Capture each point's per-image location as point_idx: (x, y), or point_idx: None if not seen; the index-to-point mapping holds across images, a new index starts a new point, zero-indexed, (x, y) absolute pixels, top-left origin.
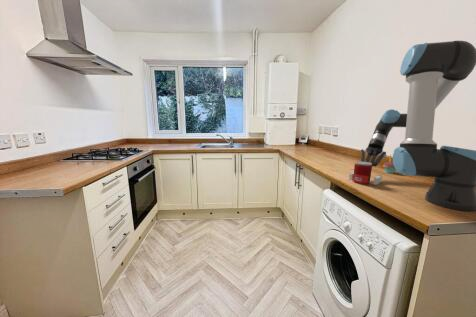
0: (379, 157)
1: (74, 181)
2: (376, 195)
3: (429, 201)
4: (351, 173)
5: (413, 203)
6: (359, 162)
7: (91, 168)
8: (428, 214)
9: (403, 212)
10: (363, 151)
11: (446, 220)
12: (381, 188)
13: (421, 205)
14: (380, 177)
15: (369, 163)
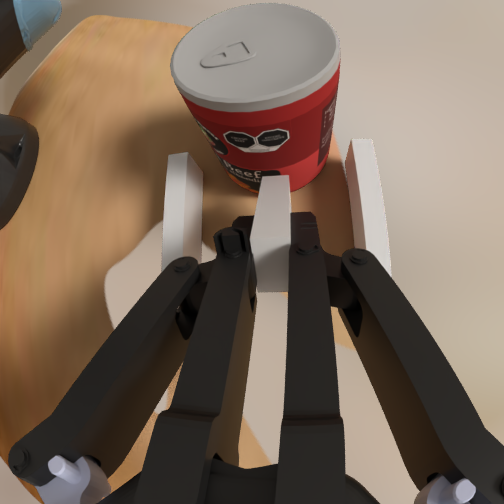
0: (107, 360)
1: None
2: (165, 43)
3: (36, 130)
4: (366, 150)
5: (75, 80)
6: (308, 59)
7: None
8: (67, 51)
9: (110, 17)
10: (470, 464)
11: (50, 56)
12: (155, 136)
13: (62, 86)
14: (165, 247)
15: (201, 80)
